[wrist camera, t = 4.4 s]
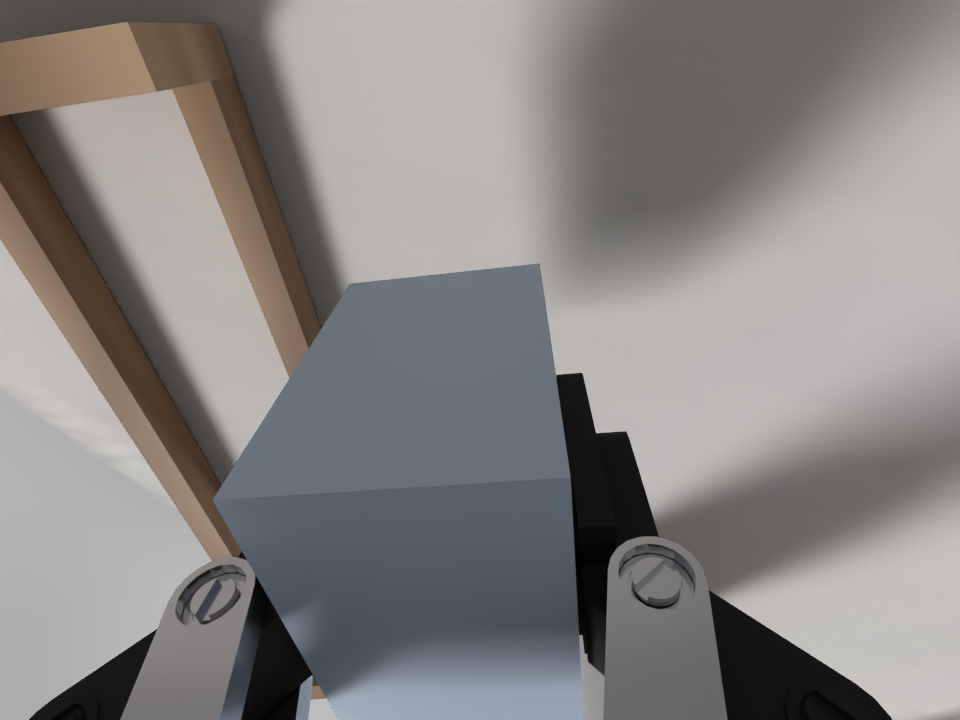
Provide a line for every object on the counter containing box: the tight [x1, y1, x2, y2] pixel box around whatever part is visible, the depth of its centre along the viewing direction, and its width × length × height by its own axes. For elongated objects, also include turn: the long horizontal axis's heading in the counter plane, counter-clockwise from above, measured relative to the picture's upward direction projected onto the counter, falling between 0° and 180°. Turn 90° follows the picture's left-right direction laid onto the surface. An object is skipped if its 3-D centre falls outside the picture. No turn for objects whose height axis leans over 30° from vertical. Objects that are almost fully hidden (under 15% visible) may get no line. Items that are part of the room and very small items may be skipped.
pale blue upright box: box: [213, 264, 584, 720], centre depth 10 cm, size 4×7×6 cm, turn 8°
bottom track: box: [0, 22, 326, 699], centre depth 19 cm, size 8×26×4 cm, turn 8°
